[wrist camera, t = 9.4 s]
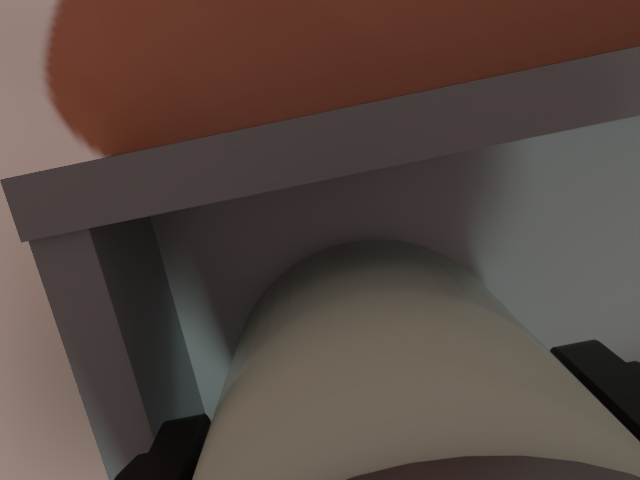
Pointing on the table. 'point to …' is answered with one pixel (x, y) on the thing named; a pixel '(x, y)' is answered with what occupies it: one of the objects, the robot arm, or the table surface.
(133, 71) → the table surface
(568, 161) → the grey tray
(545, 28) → the table surface
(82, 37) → the table surface
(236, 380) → the small jar
